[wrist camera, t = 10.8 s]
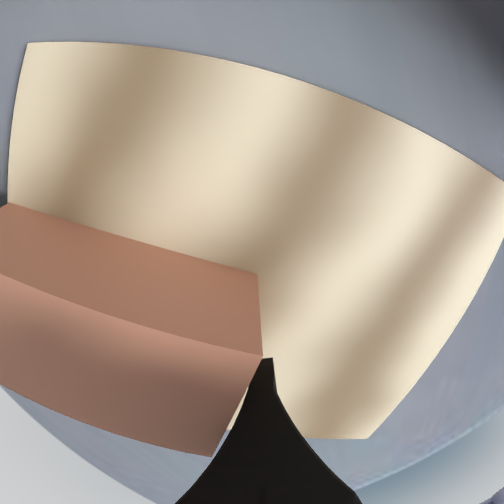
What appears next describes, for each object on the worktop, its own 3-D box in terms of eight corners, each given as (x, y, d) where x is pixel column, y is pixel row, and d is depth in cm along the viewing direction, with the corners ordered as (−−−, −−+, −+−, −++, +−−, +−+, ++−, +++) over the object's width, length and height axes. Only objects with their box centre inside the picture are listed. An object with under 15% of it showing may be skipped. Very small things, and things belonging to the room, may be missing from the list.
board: (509, 188, 10) (559, 214, 7) (364, 428, 17) (376, 471, 14) (39, 45, 8) (-17, 37, 5) (37, 363, 14) (14, 404, 11)
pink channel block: (257, 274, 11) (263, 356, 7) (217, 379, 13) (211, 457, 10) (9, 202, 9) (-59, 244, 6) (17, 314, 12) (-26, 369, 8)
